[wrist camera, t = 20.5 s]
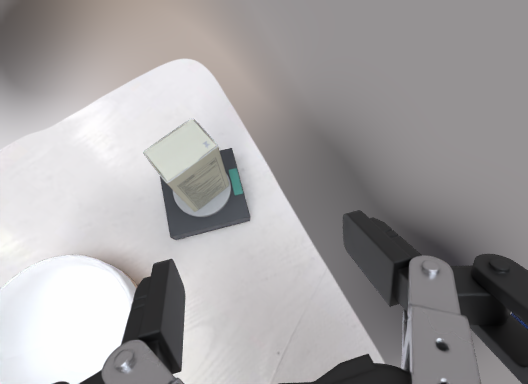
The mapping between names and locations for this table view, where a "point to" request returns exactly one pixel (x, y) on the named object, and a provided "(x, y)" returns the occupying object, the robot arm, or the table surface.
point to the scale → (208, 206)
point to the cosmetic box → (189, 164)
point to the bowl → (62, 319)
